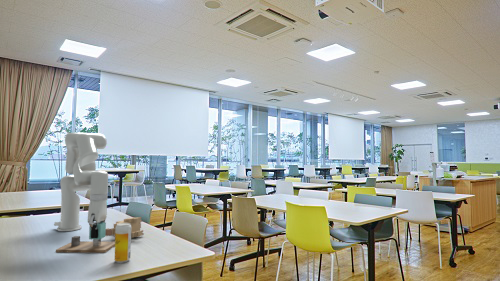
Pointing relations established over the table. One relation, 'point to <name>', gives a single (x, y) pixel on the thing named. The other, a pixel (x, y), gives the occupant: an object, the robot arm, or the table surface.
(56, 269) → the table surface
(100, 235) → the teal block
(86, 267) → the table surface
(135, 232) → the toy
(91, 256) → the table surface
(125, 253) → the beer can
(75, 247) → the stand
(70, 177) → the robot arm
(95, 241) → the tall post
